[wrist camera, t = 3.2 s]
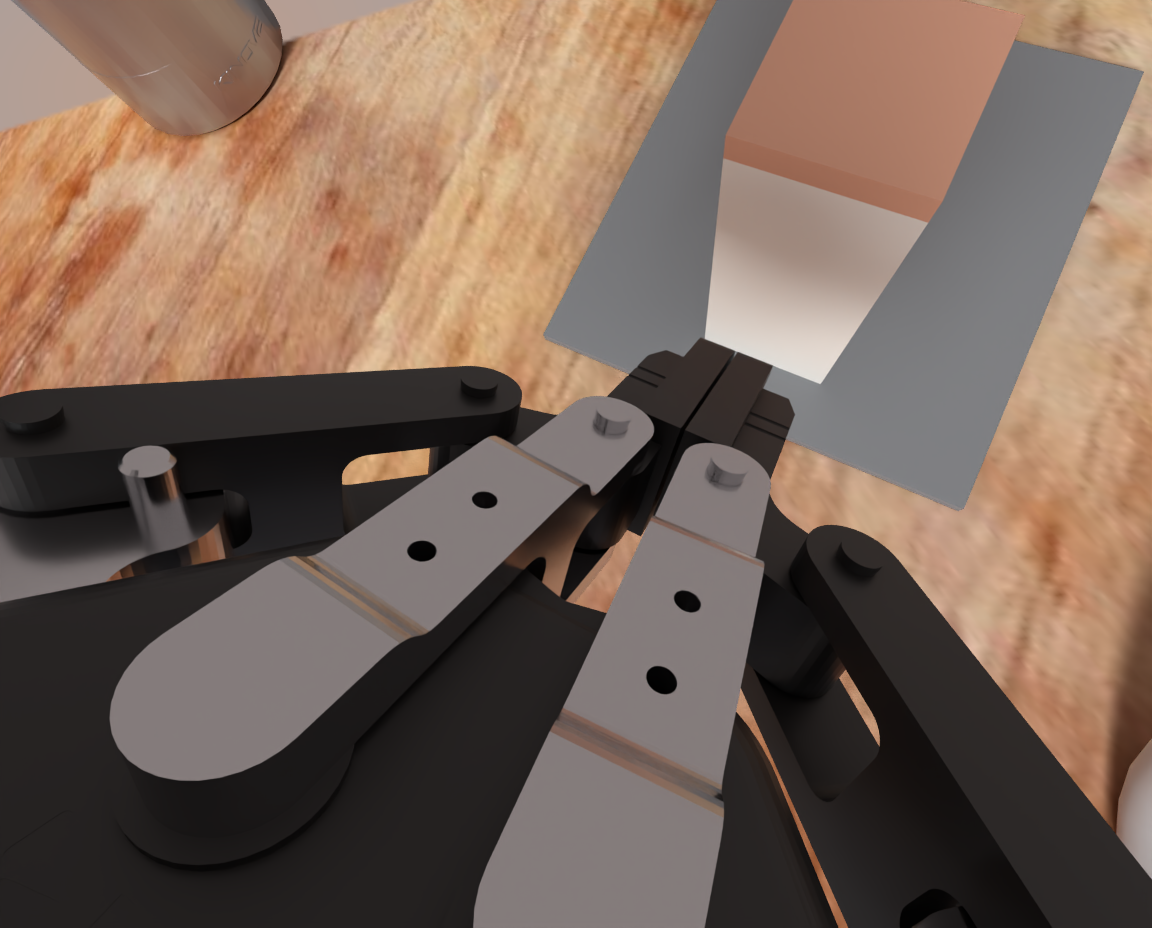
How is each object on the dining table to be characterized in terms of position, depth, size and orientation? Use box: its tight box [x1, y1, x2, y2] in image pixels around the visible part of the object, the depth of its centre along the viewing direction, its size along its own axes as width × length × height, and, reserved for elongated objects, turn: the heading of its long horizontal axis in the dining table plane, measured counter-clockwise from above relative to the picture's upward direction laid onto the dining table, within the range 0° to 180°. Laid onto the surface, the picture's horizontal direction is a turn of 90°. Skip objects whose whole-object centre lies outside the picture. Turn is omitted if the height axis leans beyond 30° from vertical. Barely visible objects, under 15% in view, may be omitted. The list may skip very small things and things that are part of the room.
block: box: [705, 0, 1025, 384], centre depth 20 cm, size 5×5×12 cm
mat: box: [543, 0, 1144, 511], centre depth 27 cm, size 18×20×1 cm
